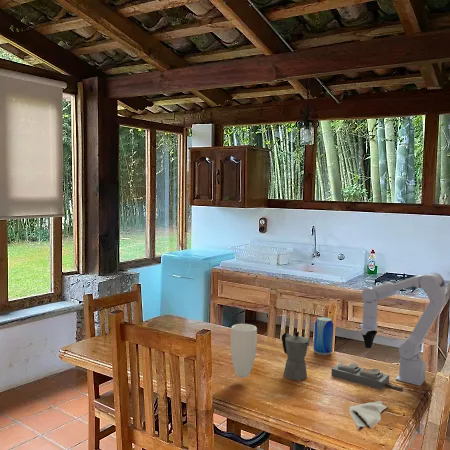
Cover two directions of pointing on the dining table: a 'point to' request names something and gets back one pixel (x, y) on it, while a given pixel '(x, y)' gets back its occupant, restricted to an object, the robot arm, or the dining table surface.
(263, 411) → the dining table surface
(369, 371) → the rocker inner
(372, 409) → the cloth
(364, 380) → the power strip
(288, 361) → the coffeepot
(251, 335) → the cup
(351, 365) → the rocker outer
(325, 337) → the beer can
